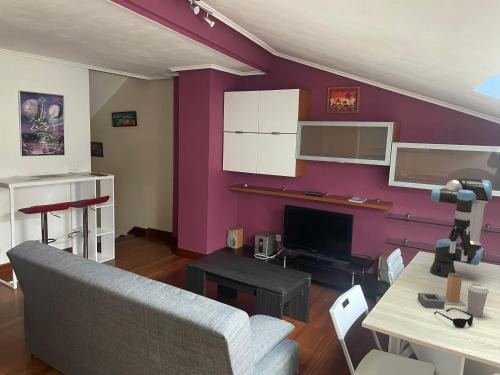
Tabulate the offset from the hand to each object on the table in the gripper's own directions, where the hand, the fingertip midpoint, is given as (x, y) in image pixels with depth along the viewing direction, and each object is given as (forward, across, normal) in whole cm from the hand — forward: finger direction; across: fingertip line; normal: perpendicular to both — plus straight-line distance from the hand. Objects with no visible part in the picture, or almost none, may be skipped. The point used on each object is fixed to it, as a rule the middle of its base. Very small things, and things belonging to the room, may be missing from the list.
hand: (457, 256), depth 204 cm
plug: (+25, +1, -1) cm, 25 cm away
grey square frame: (+25, +7, -15) cm, 30 cm away
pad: (+25, +1, -1) cm, 25 cm away
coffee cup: (+25, +15, +4) cm, 30 cm away
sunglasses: (+25, +24, -10) cm, 36 cm away
